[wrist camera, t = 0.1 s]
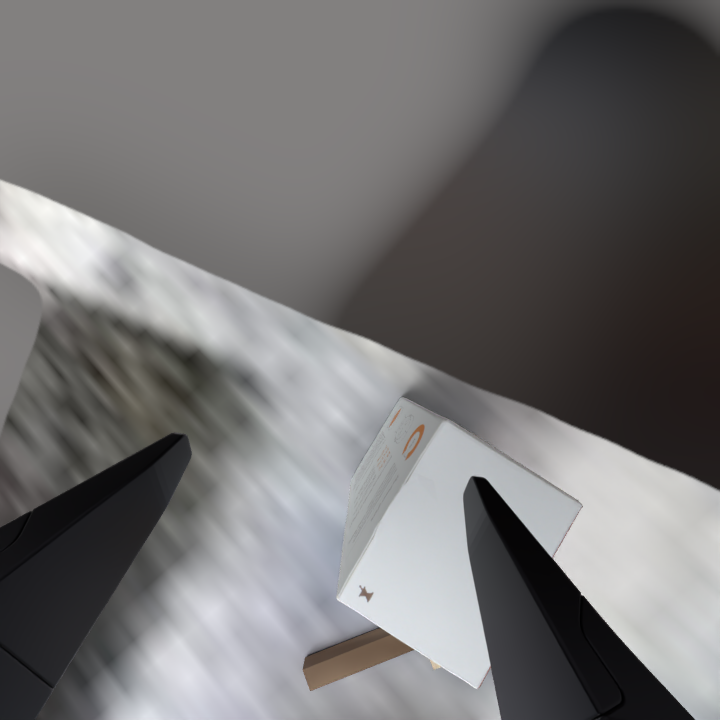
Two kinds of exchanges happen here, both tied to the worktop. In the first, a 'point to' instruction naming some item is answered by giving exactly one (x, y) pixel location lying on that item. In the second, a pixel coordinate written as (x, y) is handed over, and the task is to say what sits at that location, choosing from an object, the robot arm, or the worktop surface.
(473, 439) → the small box
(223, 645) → the worktop surface
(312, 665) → the wooden turner
